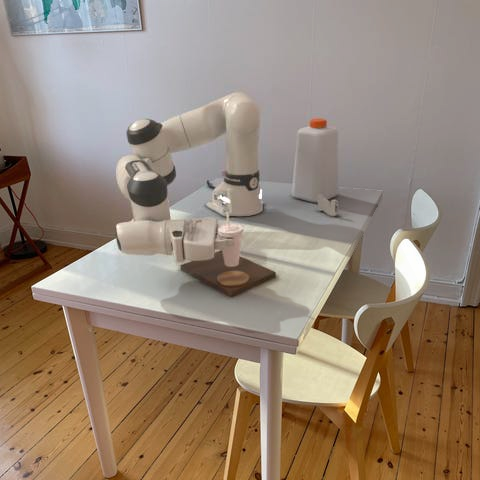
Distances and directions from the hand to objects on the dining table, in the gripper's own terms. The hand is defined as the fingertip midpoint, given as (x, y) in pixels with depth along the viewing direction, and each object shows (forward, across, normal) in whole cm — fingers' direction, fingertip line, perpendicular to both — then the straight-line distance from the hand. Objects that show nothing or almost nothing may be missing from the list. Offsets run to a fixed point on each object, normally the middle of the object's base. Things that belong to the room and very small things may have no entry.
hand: (234, 236), depth 125 cm
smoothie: (-1, 0, -8) cm, 8 cm away
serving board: (-2, -6, -14) cm, 15 cm away
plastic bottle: (+29, -73, -14) cm, 80 cm away
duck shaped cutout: (+32, -52, -14) cm, 63 cm away
